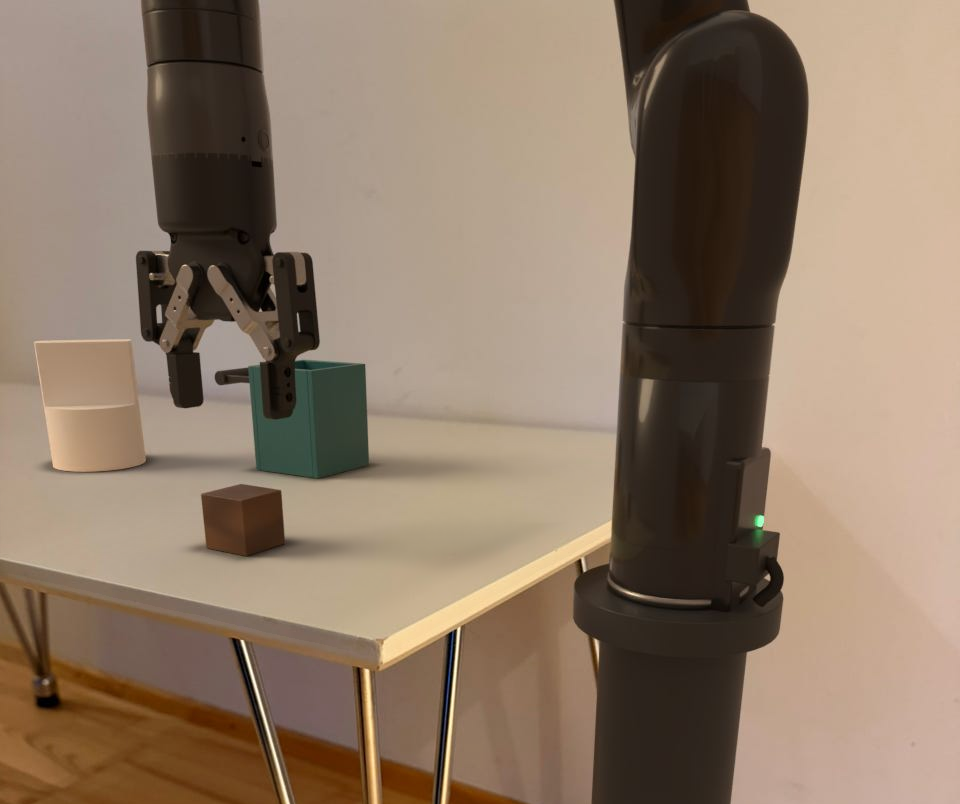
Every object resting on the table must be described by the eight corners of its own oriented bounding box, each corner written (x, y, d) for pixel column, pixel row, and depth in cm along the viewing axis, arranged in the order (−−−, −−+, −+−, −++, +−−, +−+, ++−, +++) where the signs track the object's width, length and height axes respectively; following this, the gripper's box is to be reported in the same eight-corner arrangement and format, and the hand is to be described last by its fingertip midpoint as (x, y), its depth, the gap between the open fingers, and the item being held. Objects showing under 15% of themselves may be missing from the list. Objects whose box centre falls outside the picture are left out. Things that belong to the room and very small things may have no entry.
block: (285, 543, 72) (281, 489, 71) (246, 556, 69) (241, 500, 68) (245, 535, 74) (241, 483, 73) (206, 548, 71) (200, 493, 70)
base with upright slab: (147, 453, 106) (133, 337, 102) (144, 469, 98) (129, 343, 93) (58, 457, 104) (40, 338, 99) (47, 473, 96) (27, 345, 91)
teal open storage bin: (365, 363, 97) (263, 356, 103) (311, 370, 90) (206, 362, 97) (369, 465, 100) (270, 452, 107) (317, 478, 94) (216, 464, 100)
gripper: (89, 152, 63) (119, 410, 69) (253, 141, 56) (272, 429, 62) (179, 162, 69) (200, 398, 75) (337, 154, 62) (347, 415, 68)
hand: (232, 412), depth 68 cm, fingers open, 8 cm apart
